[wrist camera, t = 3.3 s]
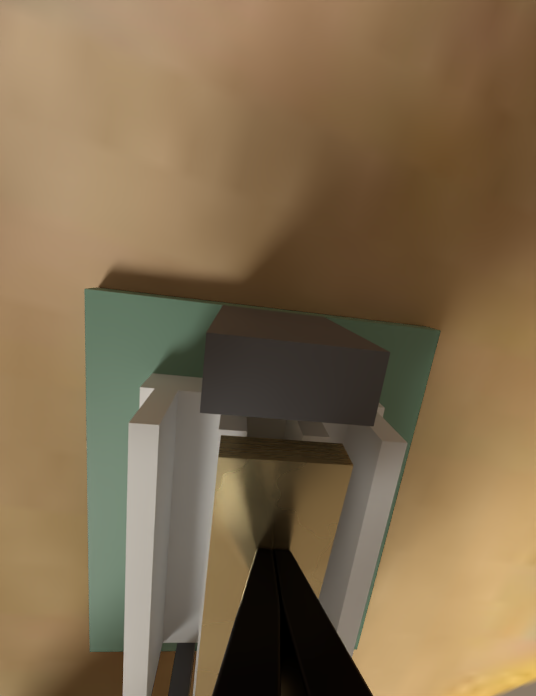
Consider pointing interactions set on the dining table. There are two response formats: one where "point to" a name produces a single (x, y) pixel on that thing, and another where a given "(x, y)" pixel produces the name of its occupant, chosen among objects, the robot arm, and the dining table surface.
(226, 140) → the dining table surface
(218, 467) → the wooden plank
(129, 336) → the heatsink board
